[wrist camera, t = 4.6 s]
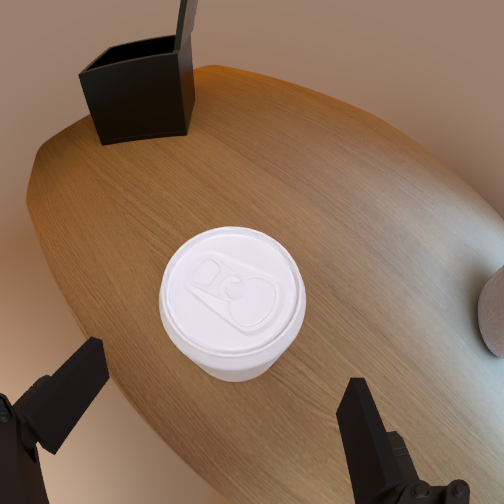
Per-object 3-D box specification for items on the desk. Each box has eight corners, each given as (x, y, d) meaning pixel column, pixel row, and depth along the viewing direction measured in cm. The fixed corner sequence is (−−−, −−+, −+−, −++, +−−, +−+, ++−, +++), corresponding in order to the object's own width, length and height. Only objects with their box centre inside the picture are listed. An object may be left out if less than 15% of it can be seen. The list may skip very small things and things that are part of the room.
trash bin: (102, 145, 38) (77, 74, 26) (123, 107, 44) (109, 47, 32) (187, 135, 38) (177, 53, 27) (195, 98, 45) (190, 32, 33)
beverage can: (250, 399, 21) (260, 400, 11) (173, 350, 23) (121, 306, 13) (295, 323, 25) (336, 262, 14) (221, 281, 27) (211, 198, 16)
